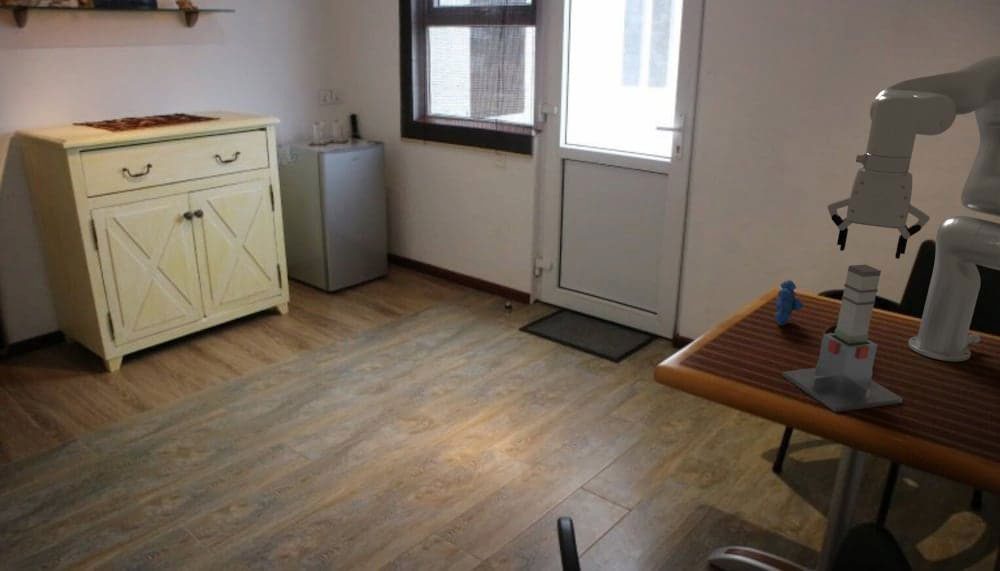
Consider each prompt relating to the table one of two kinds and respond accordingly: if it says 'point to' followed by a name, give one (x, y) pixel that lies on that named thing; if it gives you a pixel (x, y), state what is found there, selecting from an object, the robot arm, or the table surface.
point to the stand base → (843, 377)
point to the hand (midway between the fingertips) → (869, 252)
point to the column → (857, 305)
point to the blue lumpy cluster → (786, 302)
